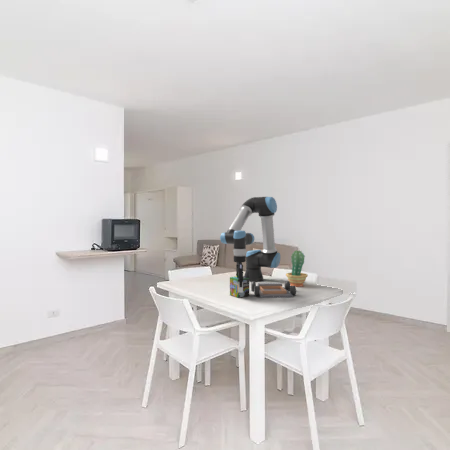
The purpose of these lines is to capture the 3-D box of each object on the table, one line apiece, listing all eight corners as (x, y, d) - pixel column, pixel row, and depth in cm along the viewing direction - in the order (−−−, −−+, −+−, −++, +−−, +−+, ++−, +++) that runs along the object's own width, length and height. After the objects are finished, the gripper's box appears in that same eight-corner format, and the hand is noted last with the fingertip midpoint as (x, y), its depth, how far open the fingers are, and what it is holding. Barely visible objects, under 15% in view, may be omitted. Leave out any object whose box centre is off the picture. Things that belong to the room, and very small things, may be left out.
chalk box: (240, 293, 205) (240, 270, 205) (250, 296, 197) (250, 272, 197) (229, 295, 199) (229, 271, 199) (238, 298, 192) (238, 273, 192)
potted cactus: (312, 286, 224) (312, 251, 223) (292, 288, 219) (292, 252, 219) (300, 282, 239) (300, 249, 238) (281, 283, 234) (282, 249, 233)
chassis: (250, 288, 217) (250, 280, 217) (287, 288, 218) (287, 279, 218) (256, 297, 193) (256, 287, 193) (297, 297, 194) (297, 287, 194)
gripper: (232, 253, 210) (232, 285, 210) (235, 257, 186) (235, 294, 186) (243, 253, 210) (243, 285, 211) (248, 257, 186) (248, 294, 186)
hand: (239, 290), depth 198 cm, fingers closed on chalk box, 12 cm apart
